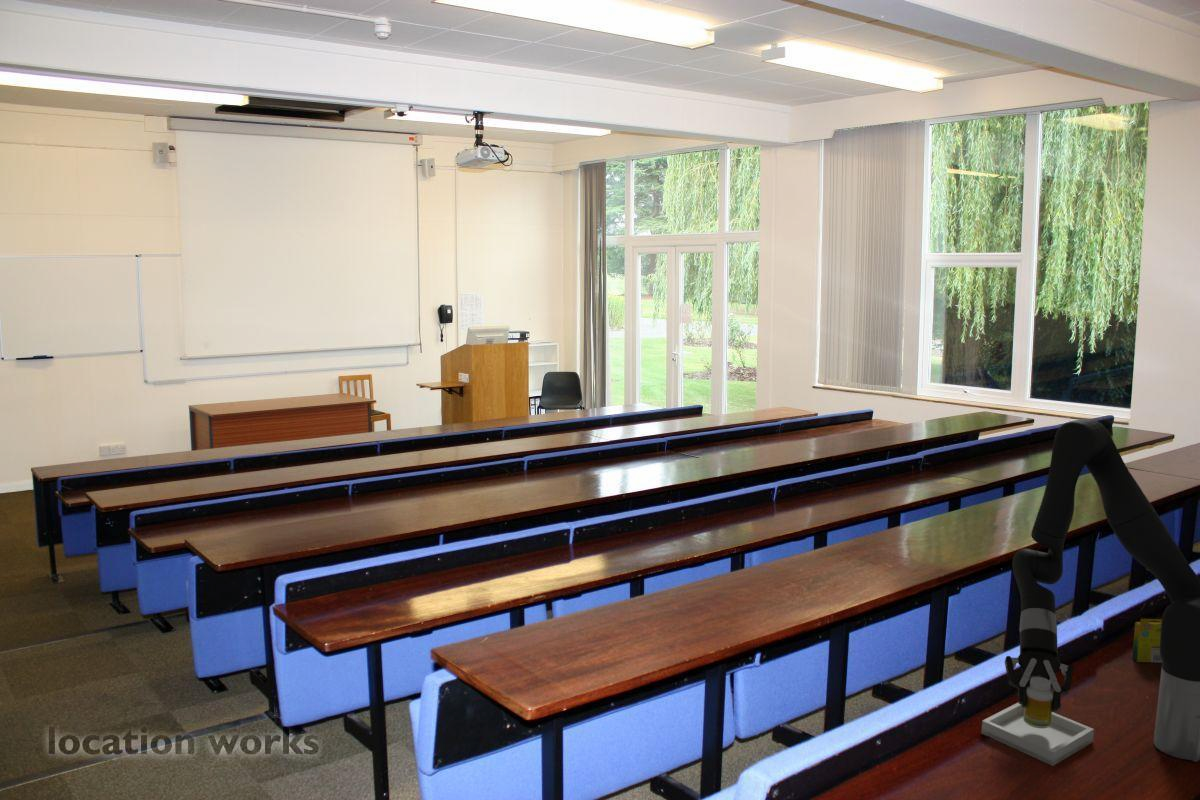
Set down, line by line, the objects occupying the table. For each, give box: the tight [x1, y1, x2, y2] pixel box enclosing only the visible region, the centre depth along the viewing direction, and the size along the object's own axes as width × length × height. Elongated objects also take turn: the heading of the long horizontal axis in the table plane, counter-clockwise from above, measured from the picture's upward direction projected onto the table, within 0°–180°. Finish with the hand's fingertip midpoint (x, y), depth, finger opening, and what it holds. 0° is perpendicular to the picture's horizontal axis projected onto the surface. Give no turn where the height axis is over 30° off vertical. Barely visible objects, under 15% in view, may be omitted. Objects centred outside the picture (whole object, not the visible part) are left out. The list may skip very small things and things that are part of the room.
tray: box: [980, 701, 1095, 767], centre depth 204 cm, size 16×16×3 cm
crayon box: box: [1131, 618, 1162, 664], centre depth 241 cm, size 7×3×12 cm, turn 84°
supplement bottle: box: [1023, 677, 1053, 728], centre depth 203 cm, size 5×5×10 cm
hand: (1039, 708), depth 201 cm, fingers closed on supplement bottle, 5 cm apart
